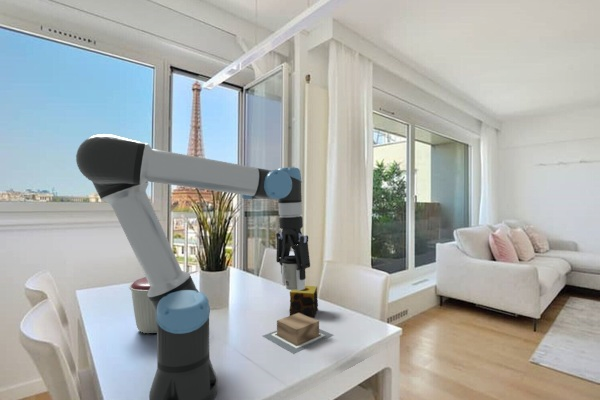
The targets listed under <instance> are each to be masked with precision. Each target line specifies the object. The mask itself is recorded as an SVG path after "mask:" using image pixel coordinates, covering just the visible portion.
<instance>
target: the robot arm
mask: <svg viewBox="0 0 600 400" xmlns="http://www.w3.org/2000/svg"><path fill="white" fill-rule="evenodd" d="M75 157H76V159H75V161H76V166H77V168H78V169H79V171H80V173H81V174H82V175H83V176H84V177H85V178H86V179H87V180H88V181H91V182H92V185H93V186H94V188H95V190H96V193H97V194H98V196H99V198H100V200H101V201H103V202H106V203H107V204H110V206H111V208H112V209H113V212H114V213H115V216H116V218H117V220H118V223H119V224H120V227H121V228H122V230H123V232H124V234H125V237H126V239H127V241H128V243H129V245H130V247H131V248H132V251H133V253H134V255H135V257H136V260H137V262H138V263H139V266H140V267H141V269H142V271H143V274H144V275H145V276H144V277H146V278H147V280H148V282H149V284H150V289H149V291H148V294H147V295H148V297H149V299H150V301H151V303H152V306H153V308H154V310H155V312H156V321H157V334H156V357H157V358H156V359H157V360H156V363H157V367H156V371H155V374H154V377H153V381H152V383H151V384H152V385H151V387H150V390H149V394H148V400H214V399H215V398H216V396H217V393H218V378H217V375H216V372H215V369H214V367H213V364H212V362H211V359H210V312H211V307H210V303H209V298H208V296H207V295H206V294H204V293H203V292H202V291H199V290H198V289H197V287H196V284H195V282H194V280H193V278H192V275H191V274H190V272H187V271H184V270H182V268H181V266H180V264H179V262H178V260H177V258H176V254H175V252H174V250H173V248H172V247H171V243H170V242H169V240H168V238H167V236H166V233H165V231H164V229H163V227H162V224H161V222H160V220H159V218H158V216H157V214H156V211H155V209H154V207H153V204H152V202H151V200H150V198H149V196H148V194H147V188H148V187H149V183H157V184H162V185H163V184H164V185H171V186H177V187H178V186H179V187H184V188H186V187H187V188H191V189H192V188H193V189H199V190H200V189H201V190H207V191H214V192H221V193H229V194H236V195H241V196H240V197H241V198H242V199H244V200H277V201H278V202H277V203H278V216H279V218H278V219H279V220H278V221H279V225H278V226H279V229H281V232H278V233H275V237H276V257H275V258H276V263H279V265H280V273H281V286H283V287H284V286H285V287H286V284H285V278H284V271H283V265H282V260H283V259H285V256H290V253H291V249H292V251H293V255H295V258H296V262H297V266H298V268H297V269H296V276H297V290H298V291H300V290H303V289H305V286H306V278H307V277H306V269H308V268H311V260H310V252H309V251H310V250H309V244H308V243H309V236H308V235H303V234H302V228H303V227H304V222H303V216H302V215H303V201H302V199H303V198H302V183H303V182H302V175H301V174H302V173H301V170H300V168H298V167H294V166H293V167H292V166H291V167H290V166H289V167H280V168H277V169H272V170H271V169H265V168H258V167H254V166H249V165H245V164H244V165H243V164H238V163H234V162H233V163H232V162H227V161H220V160H216V159H210V158H205V157H199V156H193V155H188V154H182V153H179V152H178V153H176V152H171V151H167V150H166V151H165V150H162V149H161V150H160V149H155V148H152V147H151V146H150V144H149V143H148V142H141V141H137V140H134V139H133V140H132V139H128V138H126V137H121V136H118V135H114V134H106V133H103V134H96V135H92V136H90V137H88V138H86V139H85V140H84V141H83V142H82V143H81V144H80V145H79V147H78V148H77V151H76V154H75ZM301 264H302V265H301Z"/></svg>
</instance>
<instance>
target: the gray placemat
mask: <svg viewBox="0 0 600 400" xmlns="http://www.w3.org/2000/svg"><path fill="white" fill-rule="evenodd" d="M333 336H334V334H332V333H330V332H327V330H326V331H325V330H323V329H321V328H319V336H318V337H315V338H313V339H311V340H309V341H306V342H304V343H302V344H300V345H297V346H296V345H295V344H293V343H291V342H289V341H287V340H285V339H283V338H281V337H279V336H278V335H277V330H274V331H271V332H268V333H265V334H264V335H262V337H263V338H264V339H266V340H268V341H270V342H271V343H274V345H275V344H276V345H277V346H278V347H281V348H282V349H284V350H286V351H288V352H289V353H291V354H293V355H294V354H297V353H299V352H300V351H303V350H305V349H307V348H310V347H311V346H314V345H315V344H318V343H320V342H323V341H324V340H328V339H329V338H331V337H333Z"/></svg>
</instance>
